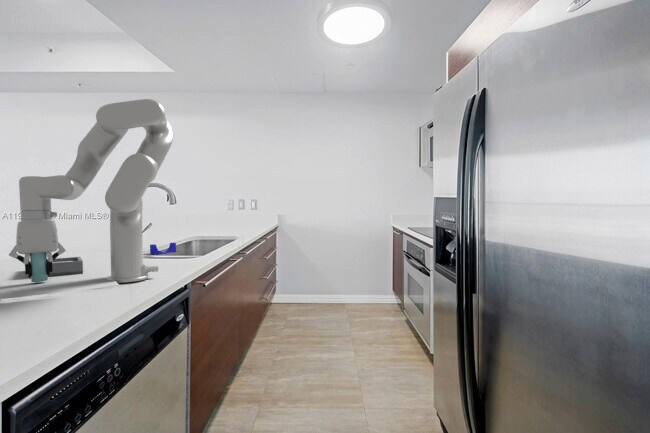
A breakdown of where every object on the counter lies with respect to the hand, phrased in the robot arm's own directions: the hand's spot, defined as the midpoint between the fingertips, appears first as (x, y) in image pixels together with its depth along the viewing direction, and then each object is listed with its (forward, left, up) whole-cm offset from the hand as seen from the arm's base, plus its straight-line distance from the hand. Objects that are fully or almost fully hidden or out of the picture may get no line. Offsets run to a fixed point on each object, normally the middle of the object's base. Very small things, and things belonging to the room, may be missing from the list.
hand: (39, 274), depth 115 cm
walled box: (-4, -20, -2) cm, 21 cm away
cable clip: (-48, -51, -3) cm, 70 cm away
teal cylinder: (0, 0, -2) cm, 2 cm away
